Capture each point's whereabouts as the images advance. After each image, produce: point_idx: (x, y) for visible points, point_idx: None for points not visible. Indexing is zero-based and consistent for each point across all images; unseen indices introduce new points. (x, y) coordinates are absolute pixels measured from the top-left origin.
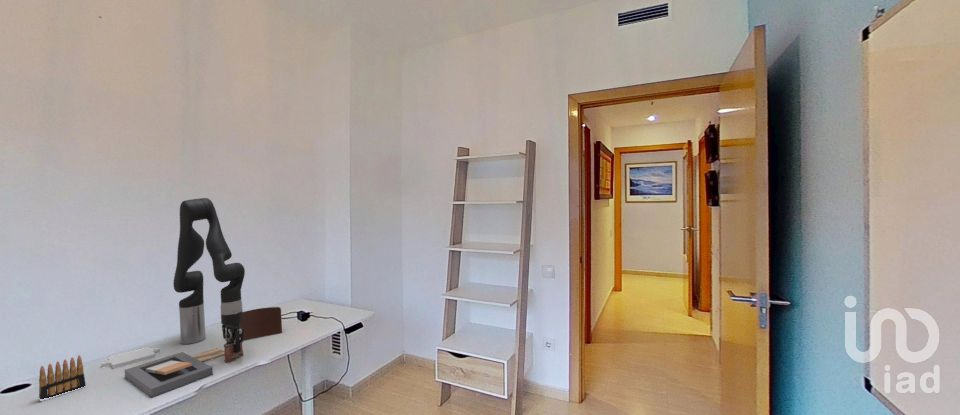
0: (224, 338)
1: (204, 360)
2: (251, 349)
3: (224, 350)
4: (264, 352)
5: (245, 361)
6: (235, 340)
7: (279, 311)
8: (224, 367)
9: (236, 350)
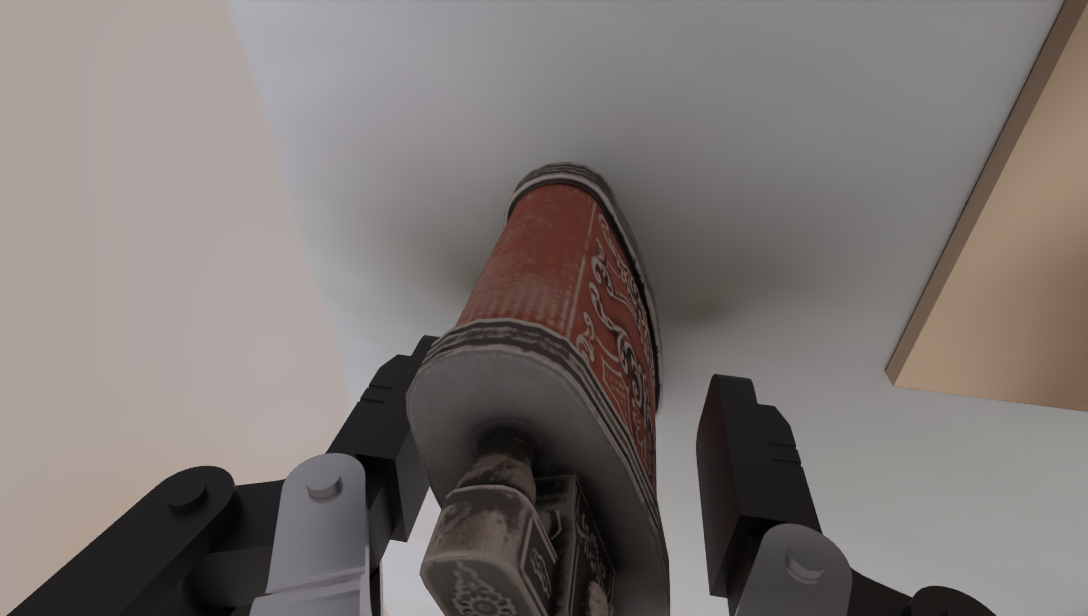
0: (914, 599)
1: (1079, 14)
2: (669, 521)
3: (551, 277)
4: (434, 504)
5: (353, 307)
6: (280, 555)
7: None
8: (388, 61)
9: (381, 372)
